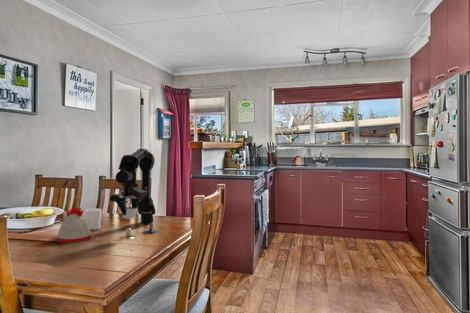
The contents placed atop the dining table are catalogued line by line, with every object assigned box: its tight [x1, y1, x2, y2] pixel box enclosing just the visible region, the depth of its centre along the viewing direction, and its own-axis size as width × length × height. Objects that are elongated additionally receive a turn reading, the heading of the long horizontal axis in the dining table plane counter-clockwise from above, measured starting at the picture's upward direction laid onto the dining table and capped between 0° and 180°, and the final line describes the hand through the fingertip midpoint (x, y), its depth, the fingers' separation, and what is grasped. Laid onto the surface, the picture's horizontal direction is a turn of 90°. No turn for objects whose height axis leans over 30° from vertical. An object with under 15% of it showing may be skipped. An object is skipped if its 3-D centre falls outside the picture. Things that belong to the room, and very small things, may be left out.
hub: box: [120, 227, 137, 240], centre depth 144 cm, size 7×7×5 cm
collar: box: [121, 206, 137, 220], centre depth 144 cm, size 6×6×4 cm
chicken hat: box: [57, 206, 92, 244], centre depth 143 cm, size 14×14×15 cm
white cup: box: [85, 208, 103, 231], centre depth 162 cm, size 8×8×10 cm
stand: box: [140, 222, 161, 236], centre depth 154 cm, size 7×7×6 cm
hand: (129, 214), depth 144 cm, fingers closed on collar, 6 cm apart
